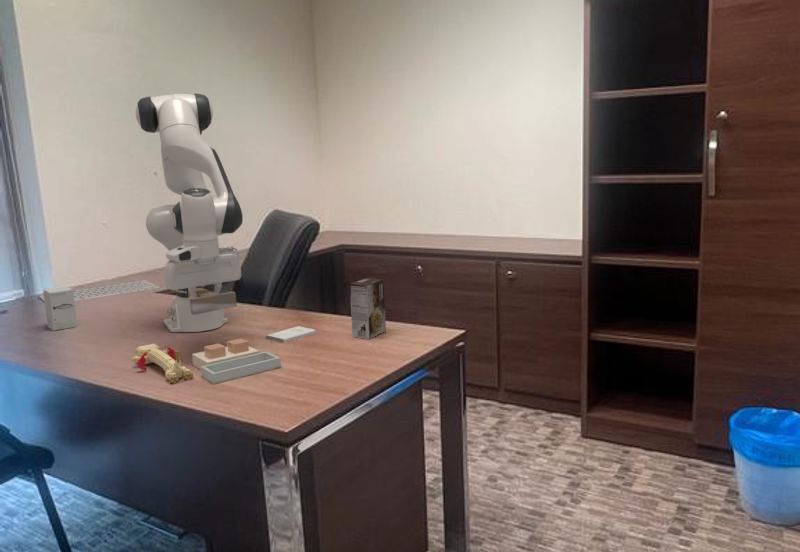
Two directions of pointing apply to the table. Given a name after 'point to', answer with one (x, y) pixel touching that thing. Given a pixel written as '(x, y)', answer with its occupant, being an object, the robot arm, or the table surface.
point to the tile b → (238, 346)
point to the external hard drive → (290, 334)
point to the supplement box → (60, 308)
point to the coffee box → (367, 308)
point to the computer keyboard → (110, 290)
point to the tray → (240, 367)
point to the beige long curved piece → (162, 361)
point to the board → (202, 360)
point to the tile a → (214, 351)
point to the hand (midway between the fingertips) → (206, 301)
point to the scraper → (211, 301)
